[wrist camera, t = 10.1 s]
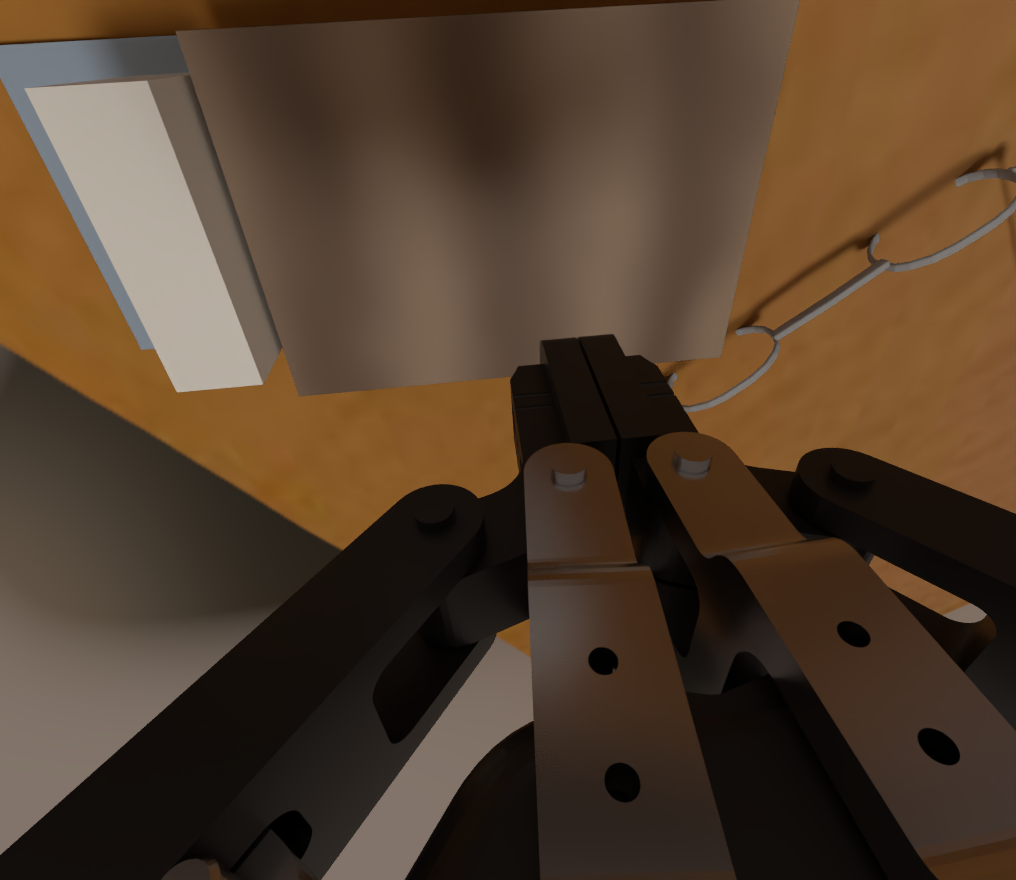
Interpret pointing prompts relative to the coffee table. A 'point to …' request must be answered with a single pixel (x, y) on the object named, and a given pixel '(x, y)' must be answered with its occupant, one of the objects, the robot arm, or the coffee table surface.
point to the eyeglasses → (876, 268)
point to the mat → (78, 65)
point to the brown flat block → (494, 180)
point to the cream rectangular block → (165, 222)
